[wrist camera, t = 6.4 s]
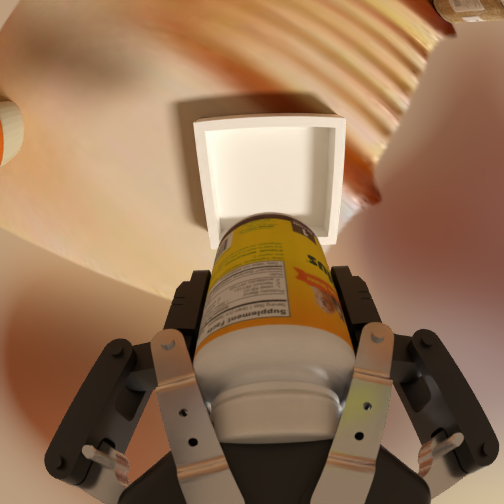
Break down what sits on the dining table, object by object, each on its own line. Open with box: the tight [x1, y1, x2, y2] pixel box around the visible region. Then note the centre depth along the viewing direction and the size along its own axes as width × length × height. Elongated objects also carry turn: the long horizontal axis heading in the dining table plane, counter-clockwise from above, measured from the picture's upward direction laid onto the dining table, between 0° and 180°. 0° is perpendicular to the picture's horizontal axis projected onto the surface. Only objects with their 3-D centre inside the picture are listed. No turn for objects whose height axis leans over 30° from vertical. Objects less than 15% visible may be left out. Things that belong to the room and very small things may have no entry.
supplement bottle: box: [193, 212, 355, 444], centre depth 10 cm, size 6×6×10 cm
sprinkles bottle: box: [433, 0, 504, 24], centre depth 8 cm, size 5×5×14 cm
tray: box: [193, 113, 346, 249], centre depth 27 cm, size 14×14×3 cm
